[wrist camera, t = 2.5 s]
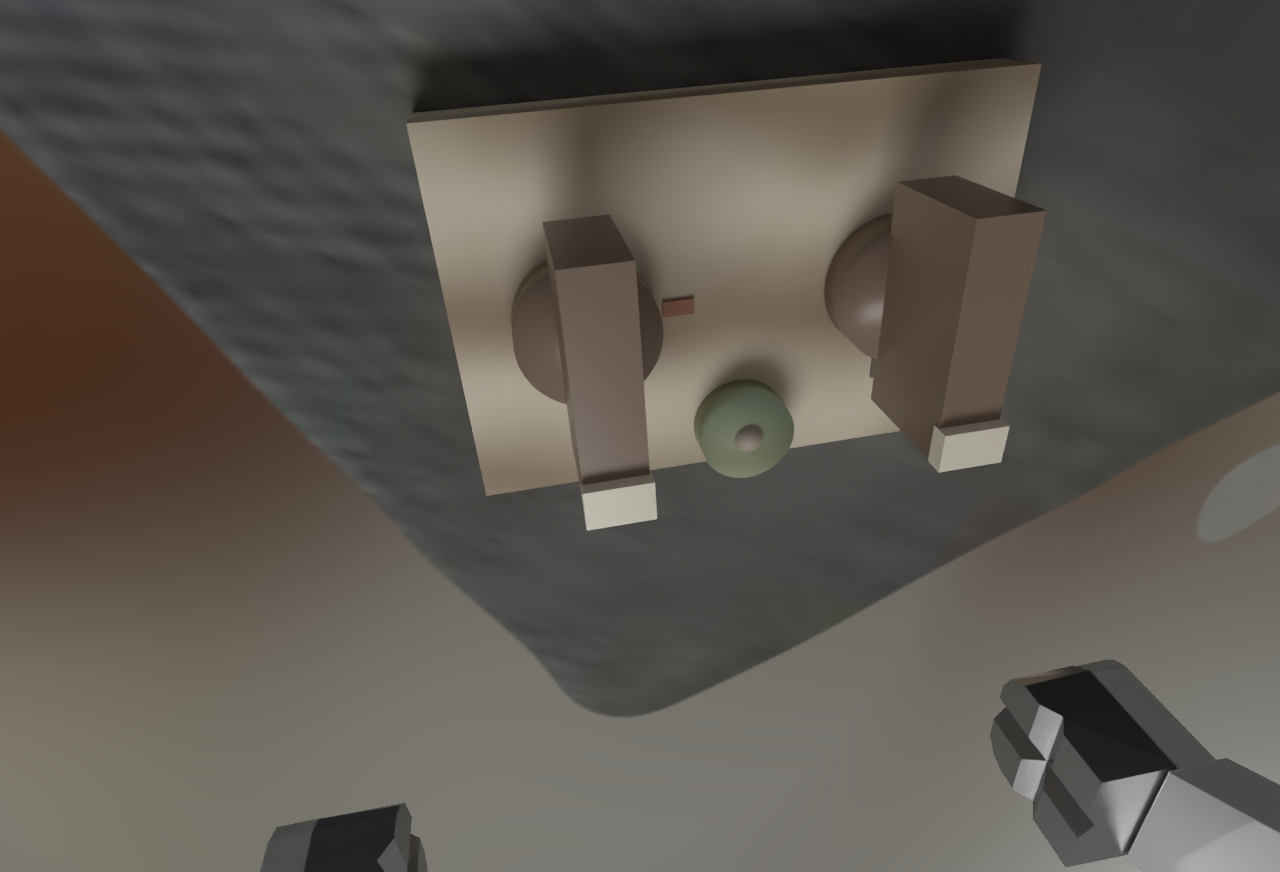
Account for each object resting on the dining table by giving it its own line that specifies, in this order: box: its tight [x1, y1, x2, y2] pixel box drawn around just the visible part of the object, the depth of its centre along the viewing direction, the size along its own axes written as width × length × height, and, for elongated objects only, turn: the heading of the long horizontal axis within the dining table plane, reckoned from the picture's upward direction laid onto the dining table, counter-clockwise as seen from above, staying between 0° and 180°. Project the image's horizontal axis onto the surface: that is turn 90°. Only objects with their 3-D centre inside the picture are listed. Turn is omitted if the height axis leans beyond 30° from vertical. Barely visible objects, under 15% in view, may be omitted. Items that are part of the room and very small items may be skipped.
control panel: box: [406, 58, 1042, 496], centre depth 23 cm, size 12×18×4 cm
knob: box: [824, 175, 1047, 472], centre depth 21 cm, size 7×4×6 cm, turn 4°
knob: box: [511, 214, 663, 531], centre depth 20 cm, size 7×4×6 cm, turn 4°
